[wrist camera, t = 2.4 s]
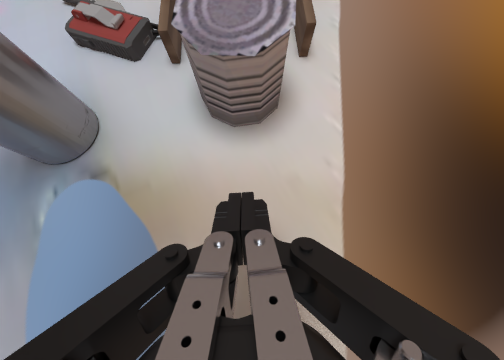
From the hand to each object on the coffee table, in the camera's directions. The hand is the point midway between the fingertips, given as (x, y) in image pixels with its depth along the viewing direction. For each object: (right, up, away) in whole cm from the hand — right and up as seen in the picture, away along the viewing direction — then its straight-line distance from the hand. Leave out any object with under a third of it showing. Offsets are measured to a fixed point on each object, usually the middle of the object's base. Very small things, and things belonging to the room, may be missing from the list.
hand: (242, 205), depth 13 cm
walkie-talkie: (-23, +26, +22) cm, 41 cm away
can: (-1, +14, +17) cm, 22 cm away
